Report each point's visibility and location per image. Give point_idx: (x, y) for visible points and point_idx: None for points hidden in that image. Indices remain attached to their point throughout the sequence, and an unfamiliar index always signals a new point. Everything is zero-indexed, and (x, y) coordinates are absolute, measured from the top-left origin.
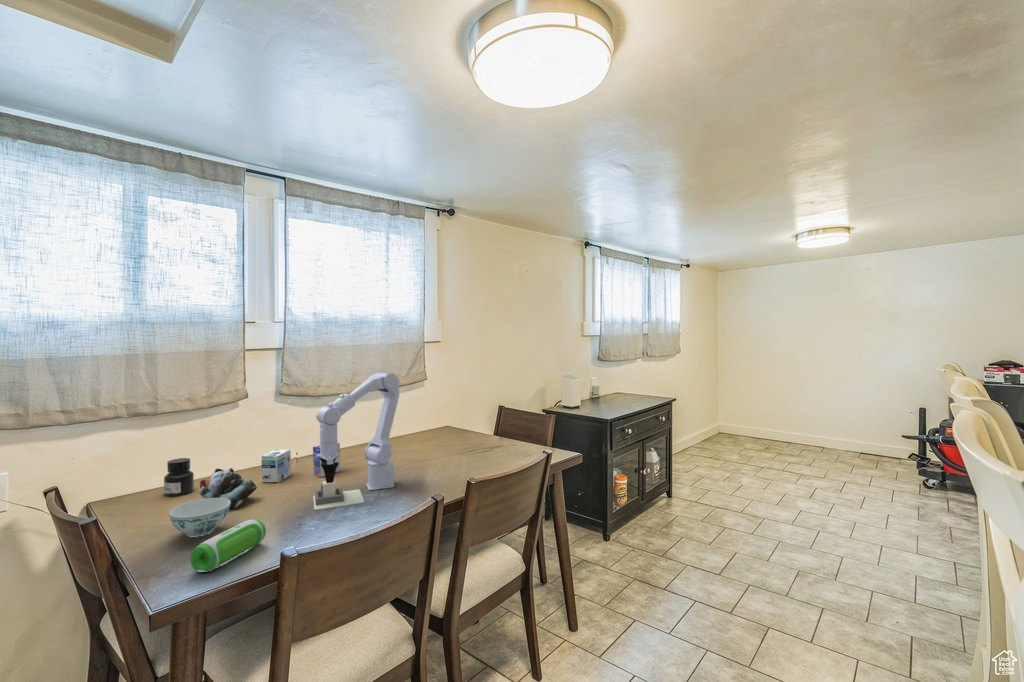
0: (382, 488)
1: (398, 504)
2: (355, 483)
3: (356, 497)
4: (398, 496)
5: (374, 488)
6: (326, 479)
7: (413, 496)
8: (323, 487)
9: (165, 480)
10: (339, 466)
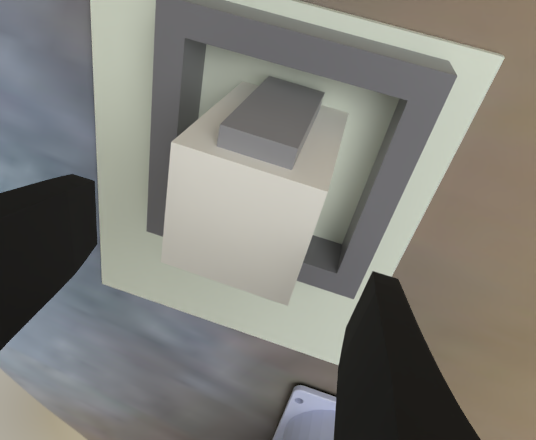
0: (277, 427)
1: (34, 355)
2: (525, 413)
3: (198, 289)
4: (133, 403)
5: (291, 409)
6: (21, 194)
7: (106, 426)
8: (187, 133)
9: None
10: None
